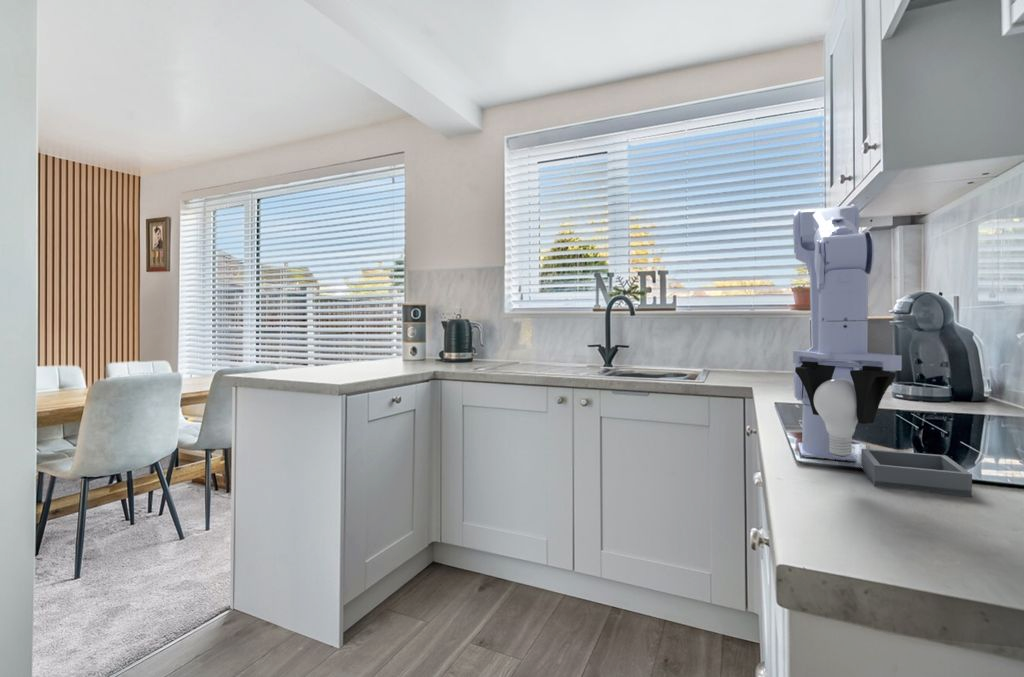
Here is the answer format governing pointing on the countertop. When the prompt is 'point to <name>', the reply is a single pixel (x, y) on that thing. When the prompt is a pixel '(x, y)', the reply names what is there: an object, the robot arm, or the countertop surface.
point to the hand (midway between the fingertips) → (841, 418)
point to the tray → (916, 472)
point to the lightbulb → (838, 413)
